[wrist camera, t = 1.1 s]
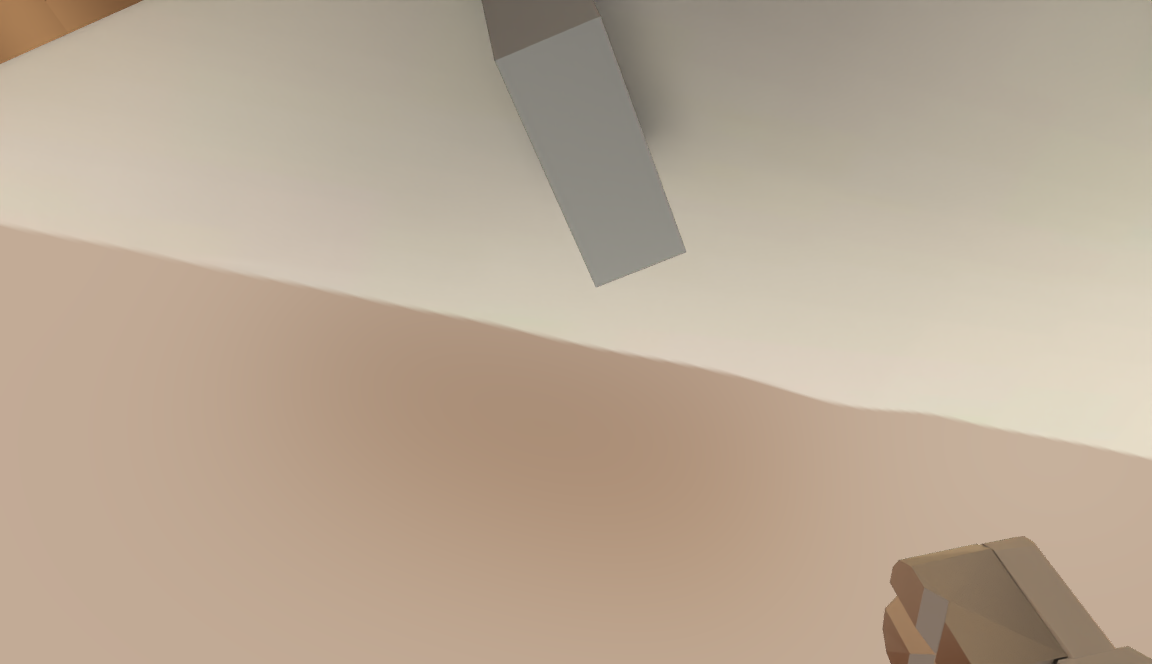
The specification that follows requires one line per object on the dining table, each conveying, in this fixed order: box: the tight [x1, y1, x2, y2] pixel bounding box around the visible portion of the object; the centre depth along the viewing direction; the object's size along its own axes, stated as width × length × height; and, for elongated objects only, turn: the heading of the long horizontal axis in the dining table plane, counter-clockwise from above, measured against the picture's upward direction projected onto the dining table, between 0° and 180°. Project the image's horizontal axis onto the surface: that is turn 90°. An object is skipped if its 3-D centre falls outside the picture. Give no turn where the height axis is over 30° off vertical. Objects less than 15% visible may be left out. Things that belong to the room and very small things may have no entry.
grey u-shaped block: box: [482, 0, 686, 287], centre depth 32 cm, size 3×8×8 cm, turn 20°
